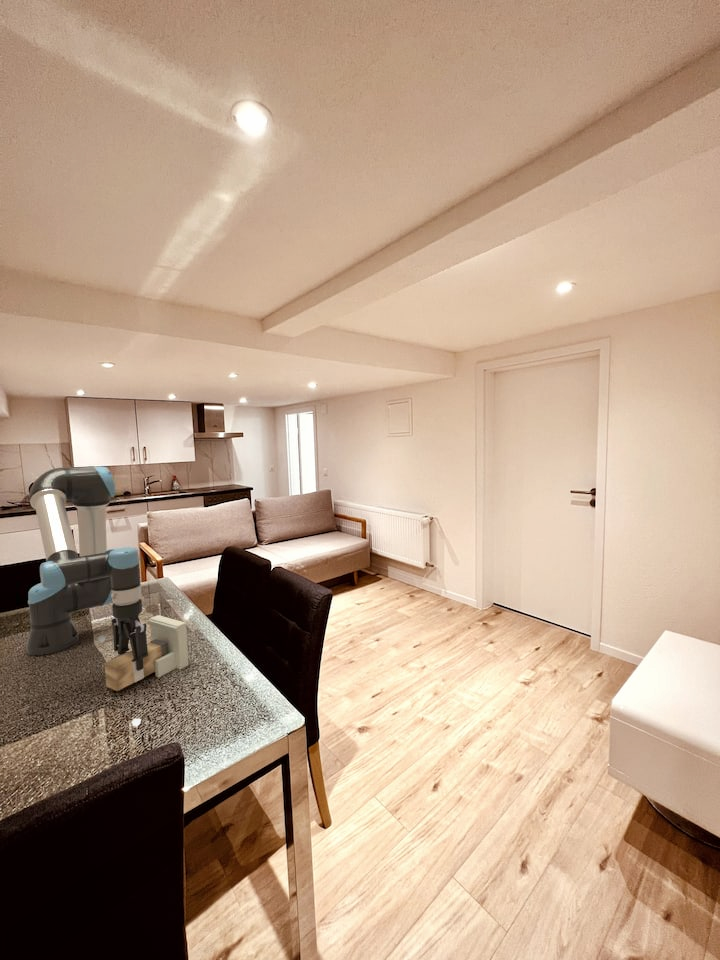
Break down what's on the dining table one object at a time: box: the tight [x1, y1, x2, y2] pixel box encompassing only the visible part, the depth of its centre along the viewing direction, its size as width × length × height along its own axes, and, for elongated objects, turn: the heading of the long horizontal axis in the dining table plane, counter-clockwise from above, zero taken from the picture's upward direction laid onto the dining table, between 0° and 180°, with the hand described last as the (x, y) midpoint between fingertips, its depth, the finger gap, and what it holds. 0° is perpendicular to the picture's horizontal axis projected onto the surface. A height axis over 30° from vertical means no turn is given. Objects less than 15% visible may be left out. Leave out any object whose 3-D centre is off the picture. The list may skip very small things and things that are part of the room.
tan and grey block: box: [104, 639, 168, 692], centre depth 121 cm, size 16×6×7 cm, turn 151°
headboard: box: [147, 614, 189, 678], centre depth 128 cm, size 14×9×14 cm, turn 61°
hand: (132, 677), depth 120 cm, fingers closed on tan and grey block, 5 cm apart
